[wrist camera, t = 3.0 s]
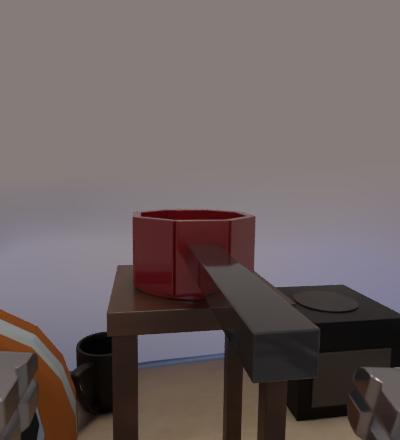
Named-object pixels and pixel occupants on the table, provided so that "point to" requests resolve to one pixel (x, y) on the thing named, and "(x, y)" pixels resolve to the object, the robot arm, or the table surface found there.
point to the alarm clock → (43, 381)
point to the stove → (341, 346)
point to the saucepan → (224, 287)
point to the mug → (94, 373)
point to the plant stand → (172, 323)
